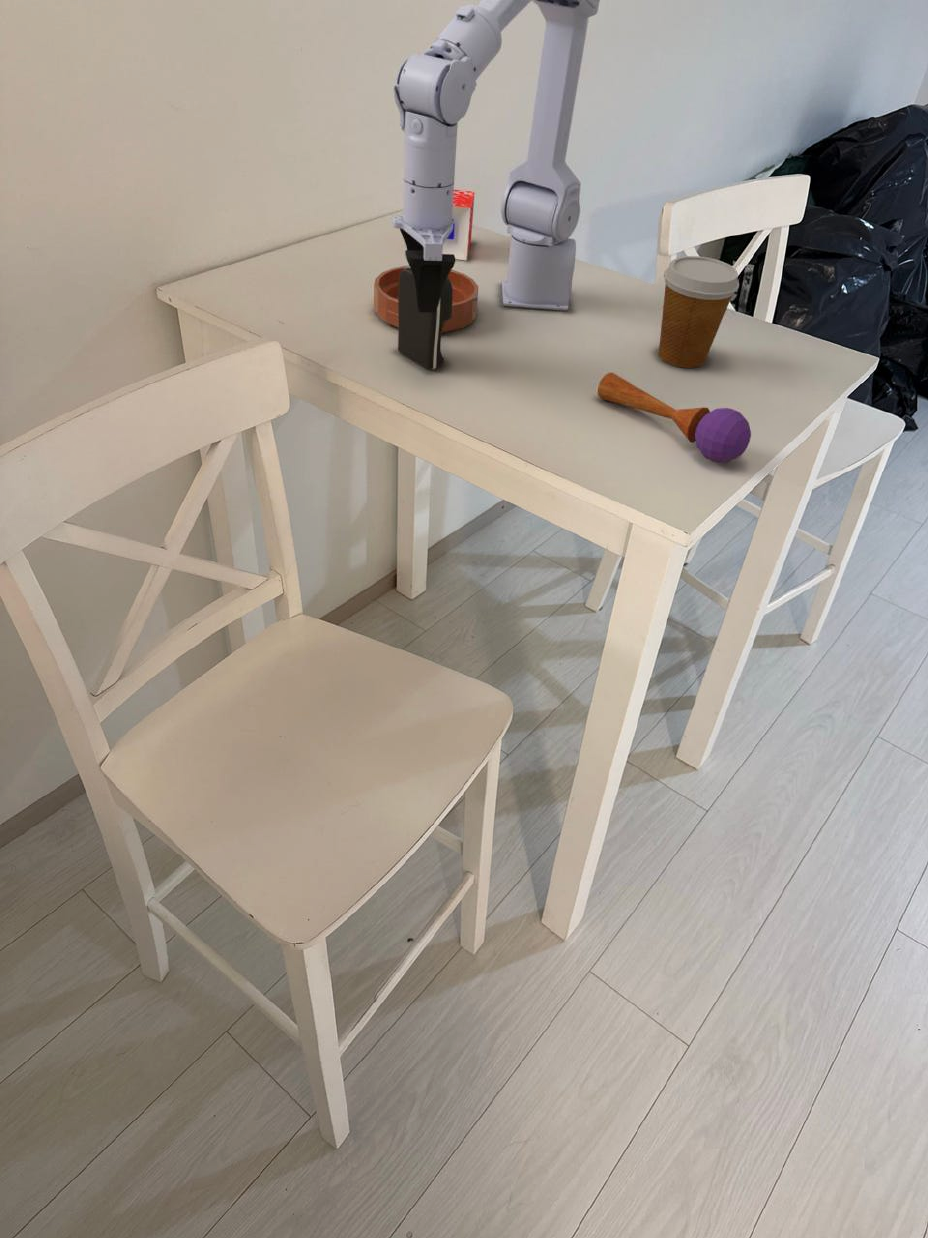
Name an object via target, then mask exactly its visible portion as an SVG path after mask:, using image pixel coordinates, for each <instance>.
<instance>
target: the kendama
mask: <svg viewBox="0 0 928 1238" xmlns="http://www.w3.org/2000/svg"><path fill="white" fill-rule="evenodd" d="M597 397H599V399H601V400H604V401H609V402H611V403H615V404H619V405H622V406H626V407H629V408H632V409H636V410H640V411H641V412H642V411H643V412H647V413H650V414H654V415H657V416H659V417H660V416H661V417H664V418H667V419H670V420H672V421H673V422H674V424H675V425H676V426H677V427H678V429H679V430H680V431H681V432H682V434H683V435H684V437H685V438H686V439H687V441H688V442H689V443H695V445H696V448H697V449H698V451H699V452H700V453H701V454H702V456H703V457H704V458H705V459H707V460H709V461H712V462H714V463H730V462H732V461H734V460H736V459H738V458H740V457H742V455H743V454H744V453H745V452H746V450H747V448H748V447H749V444H750V443H751V437H752V430H751V427H750V423H749V421H748V420H747V419H746V417H745V416H744V415H743V414H742V412H740V411H737V410H735V409H733V408H729V407H721V408H720V407H719V408H715V409H713V410H710V409H709V407H705V406H703V407H694V408H684V409H683V408H682V409H675V408H673V407H672V406H670V405H668V404H666V403H665V402H664V401H662V400H660V399H659V398H656V397H655V396H653V395H651V394H650V393H648V392H646V391H644V390H643V389H641V388H639V387H638V386H636V385H634V384H633V383H631V382H629V381H627V380H626V379H624V378H623V377H621V376H619V375H617V374H615V373H614V372H608V373H606V374H604V376H603V377H602V378H601V379H600V381H599V384H598V387H597Z"/></svg>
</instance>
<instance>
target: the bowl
mask: <svg viewBox="0 0 928 1238" xmlns="http://www.w3.org/2000/svg"><path fill="white" fill-rule="evenodd" d="M408 266H409V265H402V266H399V267H398V266H397V267H392V268H390V269H387V270H385V271H383V272H381V273H380V274H379V275H377V276H376V277H375V279H374V284H373V285H374V286H373V310H374V312H375V314H376V315H377V317H378V318H380V319H381V320H383V321H384V322H385V323H387V324H389V325H392V326H394V327H397V328H399V321H398V295H399V277H400V273H401V271H402V270H403V269H404V268H406V267H408ZM447 277H448V279H449V280H450V281H451V284H452V291H453V297H452V316H451V318H450V319H449V320H446V321H445V322H444V326H443V328H442V333H444V332H445V333H446V332H450V331H451V332H452V331H455V330H460V329H463V328H465V327H466V326H468V325H470V324H472V323H473V321H474V320H475V318H477V314H478V313H477V312H478V301H479V285H478V284H477V282H476V281H475V279H473V278H471V277H470V276H469V275H467V274H465V273H463V272H460V271H457V270H455V269H453V268H452V269H451V271H450V272H449V274H448V276H447Z"/></svg>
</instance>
